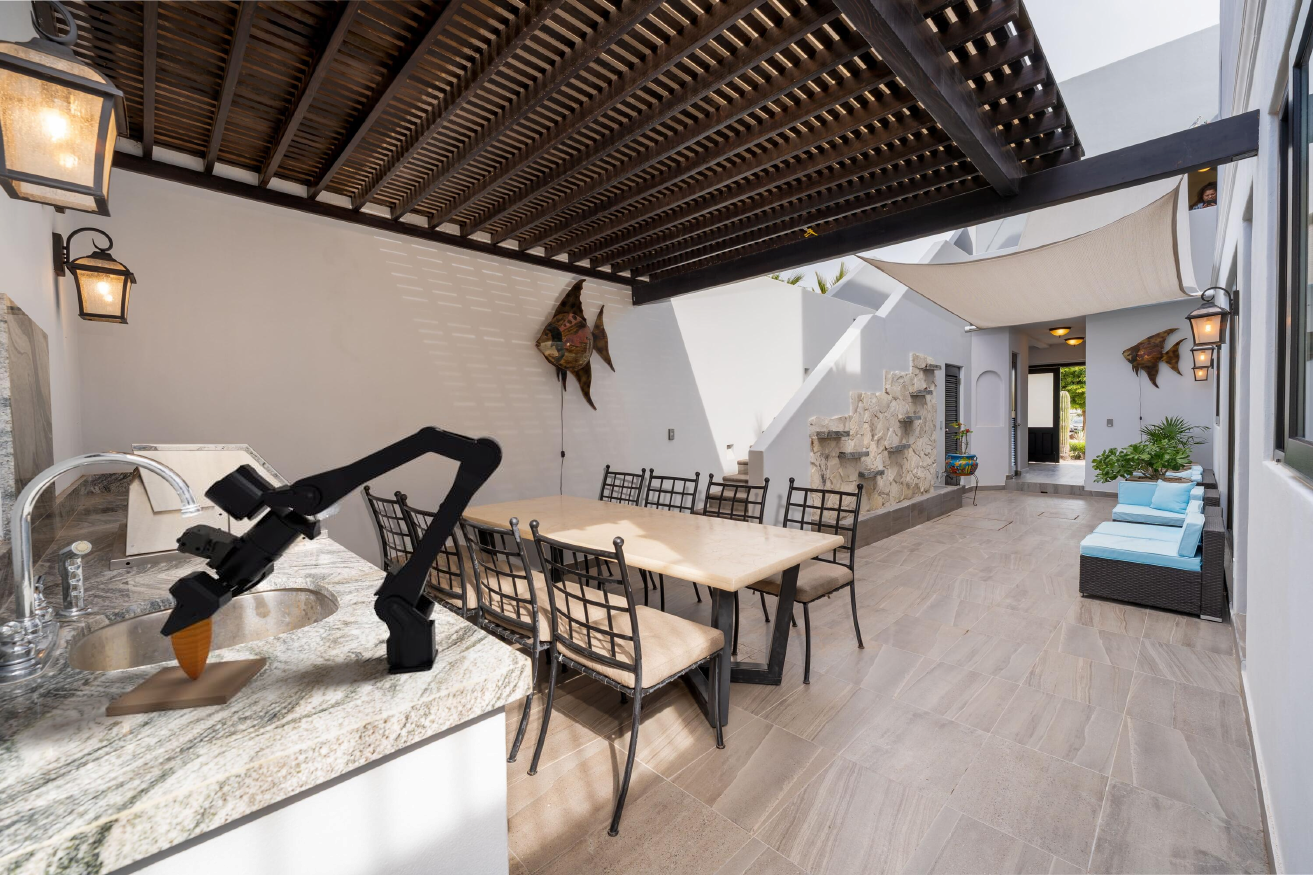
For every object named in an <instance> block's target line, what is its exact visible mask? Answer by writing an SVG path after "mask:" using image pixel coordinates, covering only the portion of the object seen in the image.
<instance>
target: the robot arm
mask: <svg viewBox="0 0 1313 875" xmlns="http://www.w3.org/2000/svg"><path fill="white" fill-rule="evenodd" d="M503 452H504V451H503V448H502V446H501V443H500V442H499V441H498V440H496V439H495V438H494V437H491V436H479V437H476V438H474V437H471V436H468V435H465V434H464V435H463V434H460V433H456V432H452V431H449V430H445V429H441V427H439V426H436V425H428V426H424V427H422V428H420V429H419V430H418V431H417V432H414V433H413V434H411V435H408V436H407V437H405V438H402V439H401V440H398V441H396V442H393V443H392V444H389V445H387V446H386V447H382V448H381V449H378V450H377V451H375V452H373V453H370V454H368V455H366V456H364V457H363V458H360V459H358V460H355V461H354V462H352V463H349V464H346V465H341V466H339V467H336V468H332V469H330V470H326V471H322V472H318V473H316V474H315V473H314V474H312V475H309V476H305V477H303V478H300V479H298V480H296V481H295V482H293V483H291V484H287V483H286V484H283V485H280V486H275V485H274V484H272V483H271V482H270V481H268V480H267V478H265V477H264V476H262V475H261V474H260V473H259V472H258V471H257V469H256V468H254V467H253V466H252V465H251V464H250V463H246V464H241V465H239V466H238V467H237V468H236V469H234V470H233V471H231V472H229V473H228V474H226V475H225V476H223V477H222V478H221V479H219V480H216V481H215V482H214V483H212V484H211V485H210V486H209V488H207V490H206V491H205V492H204V495H203V497H205V499H207V500H209V501H210V502H212V503H213V504H214V505H215V506H217V507H218V508H219V509H220V510H221V511H223V512H224V513H226V514H227V515H228V516H229V517H231V518H232V519H233V520H235V521H236V522H237V523H238V522H242V521H244V520H245V519H246V520H248V522H252V521H254V520H256V519H258V517H260V516H261V515H262V514H264V512H265V511H266V510H267V509H269V510H268V511H267V512H266V513H265V514H264V515H263V516H262V517H261V518H260V519H259V520H257V522H255V523H254V524H253V525H252V526H251V527H250V528H249V529H248V530H247V531H246V532H244V533H243V534H242V535H240V536H238V535H235V534H233V533H231V532H229V531H227V530H223V529H219V528H218V527H217V528H216V527H213V526H211V525H207V524H203V523H202V524H200V523H199V524H196V525H194V526H190V527H188V528H185V531H183V533H182V535H180V537H177V538H176V539H175V542H176V543H177V544H178V545H177V546H176V551H177V552H178V553H181V554H189V555H193V556H195V557H198V558H201V559H204V560H208V561H207V562H205V565H206V567H208V568H209V569H210V570H215V571H214V574H215V575H216V576H217V578H215V577H214V576H212V575H211V574H210V573H208V572H207V571H205V570H197V571H192V572H190V573H188V574H186V575H183V576H182V577H180V578H178V579H177V580H176V581H175V582H174V583H173V584H172V585H171V586H170V587H169V588H168V592H169V594H170V595H171V597H172V598H173V599H175V605H174V607H173V608H174V609H173V611H172V610H171V611H172V612H171V611H170V612H171V614H170V613H169V614H170V616H169V615H168V618H167V619H166V620H165V622H164V624H163V626H162V627H161V629H160V631H159V633H160V635H162V636H164V637H165V638H168V637H169V636H170V637H171V635H172V634H174V633H177V632H179V631H181V630H183V629H185V628H187V627H190V626H192V625H194V624H196V623H199V622H201V621H203V620H205V619H209V618H210V617H212V618H213V616H215V615H216V614H218V613H219V612H221V610H223V609H224V608H225V607H226V606H228V604H229V603H230V602H232V601H233V599H234V598H237V597H239V596H241V595H242V594H245V593H246V592H249V591H251V590H253V589H254V588H255V587H257V586H259V585H260V584H261V583H263V582H264V581H265V580H267V579H268V578H269V577H270V576H271V575H272V574H273V573H274V572H275V562H277V561H279V560H280V559H282V557H283V556H284V555H283V553H285V552H286V551H287V550H288V549H289V548H290V547H291V546H292V545H293V544H294V543H295V542H296V541H298V539H299V538H300V537H301V536H302V535H303V537H305V538H306V539H307V540H309V541H314V540H315V539H317V538H318V537H320V536H321V535H322V528H321V522H322V521H321V519H319V518H317V519H311V518H309V517H313V516H316V515H319V514H321V513H323V512H325V511H327V510H328V509H330V508H333V507H334V506H335V505H337V504H338V503H340V502H341V501H343V500H344V499H345V498H347V497H348V496H349V495H351V494H352V493H353V492H355V491H356V490H358V489H359V488H361V487H362V486H363V485H364V484H366V483H368V482H370V481H372V480H374V479H376V478H378V477H380V476H382V475H384V474H387V473H388V472H390V471H392V470H395V469H397V468H399V467H401V466H403V465H405V464H407V463H409V462H411V461H413V460H415V459H418V458H419V457H422V456H424V455H426V454H428V453H433V454H437V455H439V456H442V457H445V458H447V459H450V460H453V461H456V462H460V463H459V466H458V469H457V471H456V474H455V478H454V480H453V484H452V486H451V487H450V489H449V491H448V493H447V494H446V496H445V497H444V499H443V501H442V503H440V506H439V508H438V510H437V511H436V512H435V515H434V516H433V518H432V520H431V521H430V523H429V525H428V526H427V528H426V529H425V531H424V532H423V534H422V537H421V538H420V540H419V541H418V543H417V545H416V547H415V548H414V549H413V552H412V553H411V555H410V557H409V558H408V559H407V561H405V563H404V564H403V565H402V564H401V563H399V562H398V561H395V562H394V563H393V564H392V566H391V567H389V569H388V570H387V572H386V574H385V577H384V578H383V579H384V580H383V581H382V582H381V584H380V585H379V586H378V587H377V589H376V590H375V591H374V593H373V597H376V599H375V601H374V604H373V610H374V613H375V616H376V617H377V618H378V620H380V621H381V622H383V623H384V624H385V625H386V628H387V629H388V632H389V635H388V636H387V638H386V640H385V645H386V646H385V649H386V650H385V651H386V664H387V666H389V667H388V668H387V674H396V673H397V674H398V673H406V672H407V673H408V672H416V671H425V670H427V671H428V670H431V669H433V668H434V665H435V662H436V659H437V657H438V654H439V649H437V640H436V639H437V636H436V635H437V634H436V619H430V618H431V616H432V614H433V612H434V609H435V606H436V601H434V600H433V599H432V598H430V597H429V596H428V595H427V594H425V593H424V592H423V591H424V589H425V586H426V582H427V580H428V577H429V574H430V571H431V569H432V566H433V564H434V563H435V561H436V560H437V558H438V556H439V554H440V553H441V551H442V549H443V547H444V546H445V544H446V542H447V541H448V539H449V538H450V535H451V533H452V532H453V531H454V529H455V527H456V525H457V524H458V523H459V521H460V518H461V517H462V516H463V514H464V513H465V511H466V508H467V507H468V505H469V503H470V501H471V500H472V498H473V496H475V494H476V493H477V492H478V491H479V490H480V489H481V487H483V485H484V484H485V483H486V482H487V481H488V480H489V479H490V477H491V476H492V475H493V474H494V473H495V472H496V471H497V469H498V468H499V466H500V465H501V462H502V460H503V454H504V453H503Z"/></svg>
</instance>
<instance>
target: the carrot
mask: <svg viewBox="0 0 1313 875" xmlns="http://www.w3.org/2000/svg"><path fill="white" fill-rule="evenodd" d="M173 609H174V607H173ZM173 609H171V611H170V612H169V614H168V617H169V616H170V614H171V612H172V611H173ZM212 636H213V616H212V617H210V618H209V619H205V620H203V621H201V622H199V623H196V624H194V625H192V626H190V627H187V628H185V629H183V630H181V631H179V632H177V633H174V634H172V635H170V641H171V646H172V650H173V652H174V655H175V658H176V661H177V663H178V666H181V668H182V670H183V671H184V672H185V673H186V674H187V675H188V677H189V678H191V679H193V680H197V679H198V678H199V677H200V675H201V673H202V671H203V669H204V667H205V664H206V663H207V661H208V657H209V655H210V650H211V645H212Z"/></svg>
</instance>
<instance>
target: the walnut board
mask: <svg viewBox="0 0 1313 875" xmlns="http://www.w3.org/2000/svg"><path fill="white" fill-rule="evenodd" d="M267 661H268V660H267V657H258V658H248V659H236V660H226V661H216V662H215V661H214V662H213V661H212V662H206V664H205V667H204V669H203V671H202V673H201V675H200V677H199V678H198V679H197V680H193V679H191V678H189V677H188V675H187V674H186V673H185V672H184V671H183V670H182V668H181V666H180V665H174V666H173V665H172V666H164V667H162V668H160V669H159V670H158V671H156V672H155V673H153V674H152V675H151V676H149V677H148V678H146V679H145V680H143V681H141V682H140V684H138V685H136V686H135V687H134V688H132V689H131V690H130V691H128V692H126V693H125V694H124V695H122V696H121V697H119V698H118V699H117V700H115V701H113V702H112V703H110V704H109V705H108V706H107V707H105V715H106V716H105V717H116V716H123V715H124V716H125V715H130V714H131V715H132V714H135V715H136V714H141V713H152V712H160V711H161V712H163V711H168V710H169V711H170V710H179V709H181V710H182V709H187V708H188V709H189V708H196V707H198V708H199V707H207V706H216V705H223V704H224V705H225V704H228V703H229V702H230V701H231V700H232V699H233V697H235V696H237V695H238V693H239V692H240V691H241V690H242V689H243V688H244V687H246V685H247V684H249V682H251V680H253V679H254V678H255V677H256V676H257V675H258V674H259V673H260V672H261V671H262V670H263V669H264V668H265V667H266V666H268V665H267V664H268V663H267Z"/></svg>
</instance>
